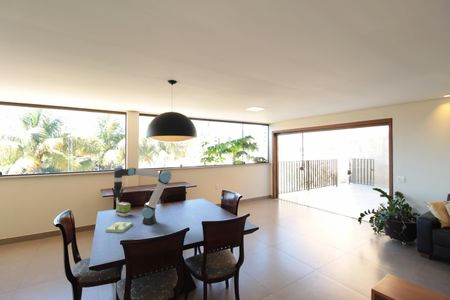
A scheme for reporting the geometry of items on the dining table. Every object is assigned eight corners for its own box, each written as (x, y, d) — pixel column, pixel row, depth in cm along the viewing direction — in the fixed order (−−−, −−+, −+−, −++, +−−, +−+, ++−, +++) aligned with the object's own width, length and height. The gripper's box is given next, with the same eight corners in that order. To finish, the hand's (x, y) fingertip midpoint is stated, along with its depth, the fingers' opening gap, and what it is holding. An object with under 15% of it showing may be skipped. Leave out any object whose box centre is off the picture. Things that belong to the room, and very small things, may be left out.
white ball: (126, 225, 224) (126, 222, 224) (124, 226, 220) (124, 223, 220) (123, 225, 224) (123, 222, 224) (121, 226, 220) (121, 223, 220)
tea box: (115, 214, 268) (115, 203, 268) (122, 212, 277) (122, 201, 277) (123, 216, 261) (124, 204, 262) (130, 214, 271) (130, 203, 271)
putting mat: (132, 225, 233) (132, 222, 233) (122, 232, 211) (122, 229, 211) (117, 224, 233) (117, 221, 234) (105, 231, 211) (105, 229, 212)
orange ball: (119, 228, 215) (119, 224, 215) (117, 229, 211) (117, 226, 211) (115, 228, 215) (115, 224, 215) (113, 229, 211) (114, 225, 211)
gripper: (125, 181, 226) (125, 202, 226) (114, 180, 227) (113, 202, 227) (122, 182, 219) (121, 204, 219) (110, 181, 219) (109, 204, 219)
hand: (117, 203), depth 223 cm, fingers closed
